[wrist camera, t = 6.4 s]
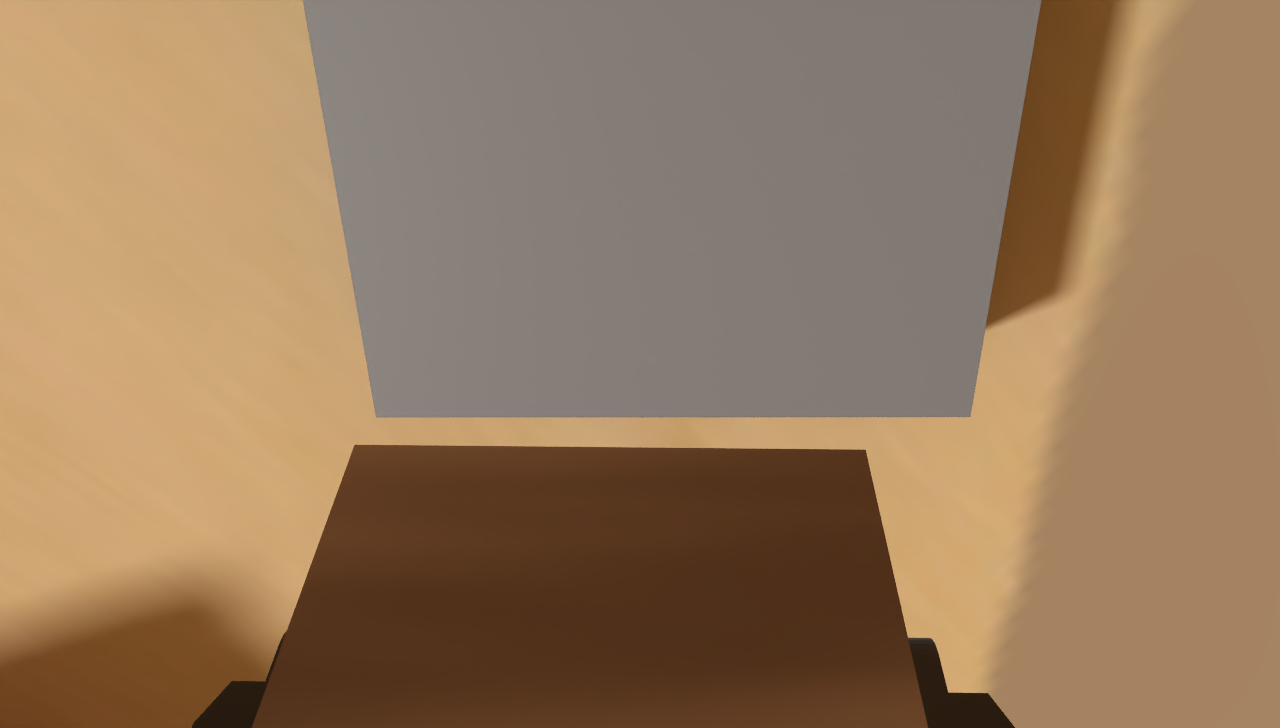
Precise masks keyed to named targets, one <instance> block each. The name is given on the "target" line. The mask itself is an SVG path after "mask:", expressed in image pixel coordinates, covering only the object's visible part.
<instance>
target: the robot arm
mask: <svg viewBox="0 0 1280 728" xmlns="http://www.w3.org/2000/svg"><path fill="white" fill-rule="evenodd" d="M286 632H287V631H286ZM286 632H285V634H284V635H283V637H282V639H281V641H280V644H279V646H278V649H277V652H276V654H275V657H274V660H273V662H272V665H271V668H270V671H269V673H268V676H267V679H266V682H256V681H231V683H230V684H229V685H228V686H227V687H226V688H225V689H224V690H223V691H222V692H221V694H220V695H219V696H218V697H217V698H216V699H215V700H214V701H213V702H212V703H211V705H210V706H209V707H208V708H207V709H206V710H205V711H204V712H203V713H202V714H201V715H200V717H199V718H198V719H197V720H196V721H195V722H194V723H193V726H192V728H252V726H253V723H254V720H255V717H256V715H257V712H258V709H259V706H260V704H261V701H262V698H263V695H264V693H265V690H266V687H267V684H268V682H269V679H270V676H271V673H272V671H273V668H274V665H275V662H276V660H277V657H278V654H279V651H280V649H281V646H282V643H283V640H284V638H285V635H286ZM908 641H909V645H910V650H911V654H912V658H913V663H914V667H915V672H916V676H917V681H918V685H919V689H920V694H921V698H922V703H923V707H924V712H925V716H926V721H927V725H928V728H1015V727H1014V726H1013V725H1012V723H1011V722H1010V721H1009V719H1008V718H1007V717H1006V716H1005V715H1004V713H1003V712H1002V711H1001V709H1000V708H999V707H998V706H997V704H996V703H995V702H994V700H993V699H992V698H991V697H990V695H989V694H988V693H948V690H947V686H946V682H945V678H944V674H943V670H942V666H941V662H940V658H939V654H938V651H937V648H936V645H935V643H934V641H933V640H932V639H931V638H908Z"/></svg>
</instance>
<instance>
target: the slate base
mask: <svg viewBox="0 0 1280 728" xmlns="http://www.w3.org/2000/svg"><path fill="white" fill-rule="evenodd" d="M303 3H304V9H305V15H306V20H307V26H308V32H309V37H310V43H311V49H312V55H313V60H314V66H315V72H316V77H317V83H318V89H319V94H320V100H321V106H322V111H323V117H324V123H325V129H326V134H327V140H328V146H329V151H330V157H331V163H332V168H333V174H334V180H335V186H336V191H337V197H338V203H339V208H340V214H341V220H342V225H343V231H344V237H345V242H346V248H347V254H348V260H349V265H350V271H351V277H352V282H353V288H354V294H355V299H356V305H357V311H358V317H359V322H360V328H361V334H362V339H363V345H364V351H365V356H366V362H367V368H368V374H369V379H370V385H371V391H372V396H373V402H374V408H375V413H376V417H970V415H971V409H972V404H973V398H974V392H975V386H976V380H977V374H978V368H979V363H980V357H981V351H982V345H983V339H984V333H985V328H986V322H987V316H988V310H989V304H990V298H991V292H992V287H993V281H994V275H995V269H996V263H997V257H998V251H999V246H1000V240H1001V234H1002V228H1003V222H1004V216H1005V211H1006V205H1007V199H1008V193H1009V187H1010V181H1011V175H1012V170H1013V164H1014V158H1015V152H1016V146H1017V140H1018V135H1019V129H1020V123H1021V117H1022V111H1023V105H1024V99H1025V94H1026V88H1027V82H1028V76H1029V70H1030V64H1031V58H1032V53H1033V47H1034V41H1035V35H1036V29H1037V23H1038V18H1039V12H1040V6H1041V0H303Z"/></svg>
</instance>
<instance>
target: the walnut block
mask: <svg viewBox="0 0 1280 728" xmlns="http://www.w3.org/2000/svg"><path fill="white" fill-rule="evenodd" d="M252 728H928V725H927V721H926V716H925V712H924V707H923V703H922V698H921V694H920V689H919V685H918V681H917V676H916V672H915V667H914V663H913V658H912V654H911V650H910V645H909V641H908V636H907V632H906V627H905V623H904V618H903V614H902V610H901V605H900V601H899V596H898V592H897V587H896V583H895V579H894V574H893V570H892V565H891V561H890V556H889V552H888V547H887V543H886V539H885V534H884V530H883V525H882V521H881V516H880V512H879V508H878V503H877V499H876V494H875V490H874V485H873V481H872V476H871V472H870V468H869V463H868V459H867V454H866V450H829V449H726V448H622V447H519V446H415V445H354V448H353V451H352V454H351V456H350V459H349V462H348V465H347V467H346V470H345V473H344V476H343V478H342V481H341V484H340V487H339V489H338V492H337V495H336V498H335V500H334V503H333V506H332V509H331V511H330V514H329V517H328V520H327V522H326V525H325V528H324V531H323V533H322V536H321V539H320V542H319V544H318V547H317V550H316V553H315V555H314V558H313V561H312V564H311V566H310V569H309V572H308V575H307V577H306V580H305V583H304V586H303V588H302V591H301V594H300V597H299V599H298V602H297V605H296V608H295V610H294V613H293V616H292V618H291V621H290V624H289V627H288V629H287V632H286V635H285V638H284V640H283V643H282V646H281V649H280V651H279V654H278V657H277V660H276V662H275V665H274V668H273V671H272V673H271V676H270V679H269V682H268V684H267V687H266V690H265V693H264V695H263V698H262V701H261V704H260V706H259V709H258V712H257V715H256V717H255V720H254V723H253V726H252Z"/></svg>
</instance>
